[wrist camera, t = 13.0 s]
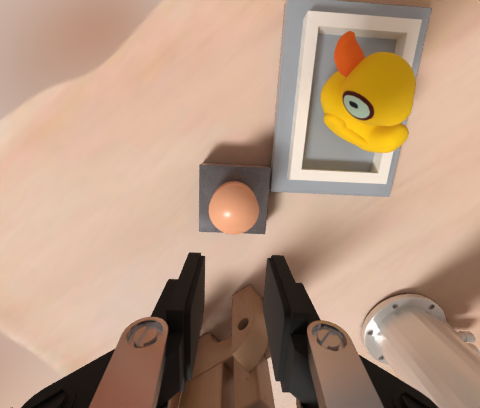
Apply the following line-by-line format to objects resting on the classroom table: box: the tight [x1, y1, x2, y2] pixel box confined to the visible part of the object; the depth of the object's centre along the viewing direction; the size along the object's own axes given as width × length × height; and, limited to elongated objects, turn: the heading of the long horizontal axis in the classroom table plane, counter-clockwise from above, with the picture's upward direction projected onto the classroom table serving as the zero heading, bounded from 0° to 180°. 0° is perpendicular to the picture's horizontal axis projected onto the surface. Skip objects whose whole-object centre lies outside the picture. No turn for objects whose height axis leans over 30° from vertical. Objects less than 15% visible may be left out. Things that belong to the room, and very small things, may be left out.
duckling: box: [321, 31, 416, 153], centre depth 21 cm, size 11×5×10 cm, turn 45°
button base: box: [199, 162, 271, 234], centre depth 28 cm, size 8×8×3 cm
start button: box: [209, 181, 259, 234], centre depth 24 cm, size 5×5×3 cm
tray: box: [269, 0, 432, 197], centre depth 26 cm, size 15×20×3 cm
